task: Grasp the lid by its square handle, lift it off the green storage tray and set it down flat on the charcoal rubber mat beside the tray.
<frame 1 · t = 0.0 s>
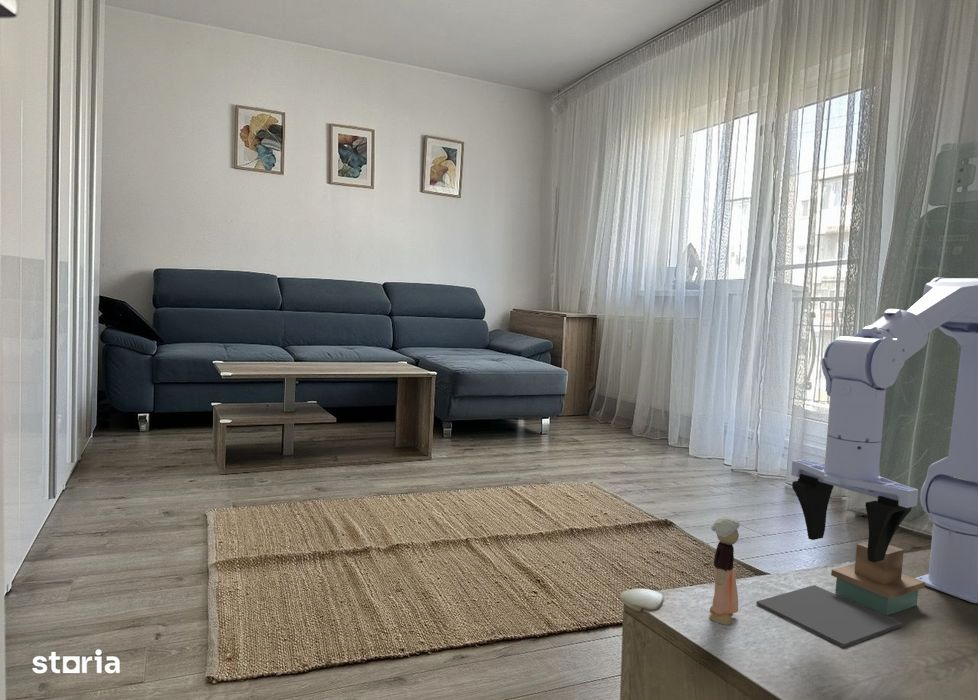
hand: (844, 548, 81), 10 cm above the table, fingers open, 7 cm apart
lid: (877, 581, 91), point 2 cm above the table, touching green storage tray
green storage tray: (875, 599, 91), on the table
mat: (827, 614, 86), on the table
grandmother figurine: (721, 615, 85), on the table
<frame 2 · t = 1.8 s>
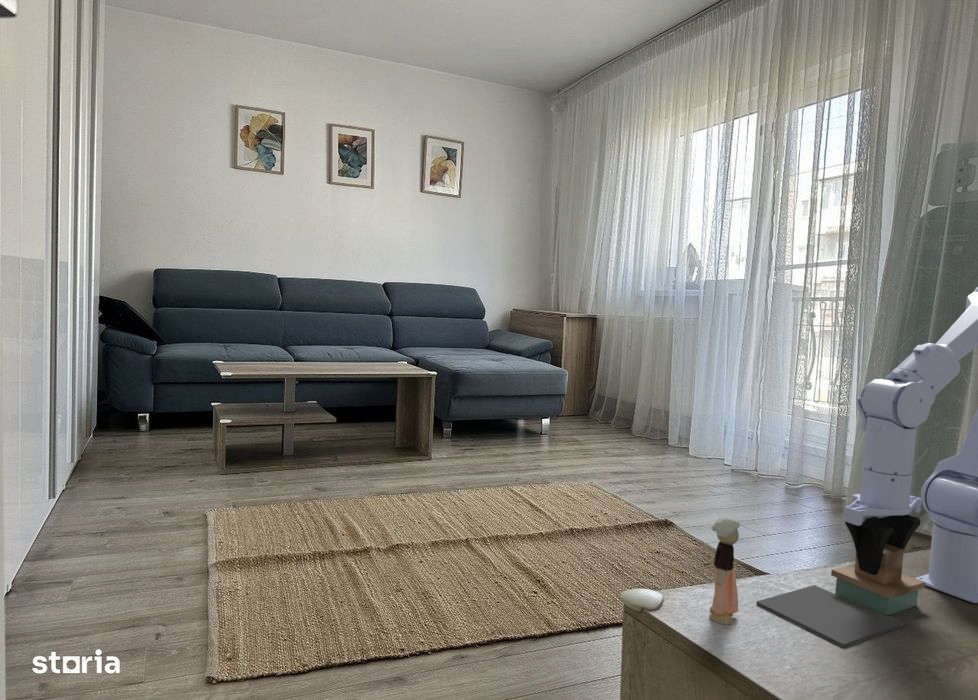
hand: (878, 569, 91), 4 cm above the table, fingers closed on lid, 4 cm apart
lid: (877, 581, 91), point 2 cm above the table, touching green storage tray, gripper
everything else where it was.
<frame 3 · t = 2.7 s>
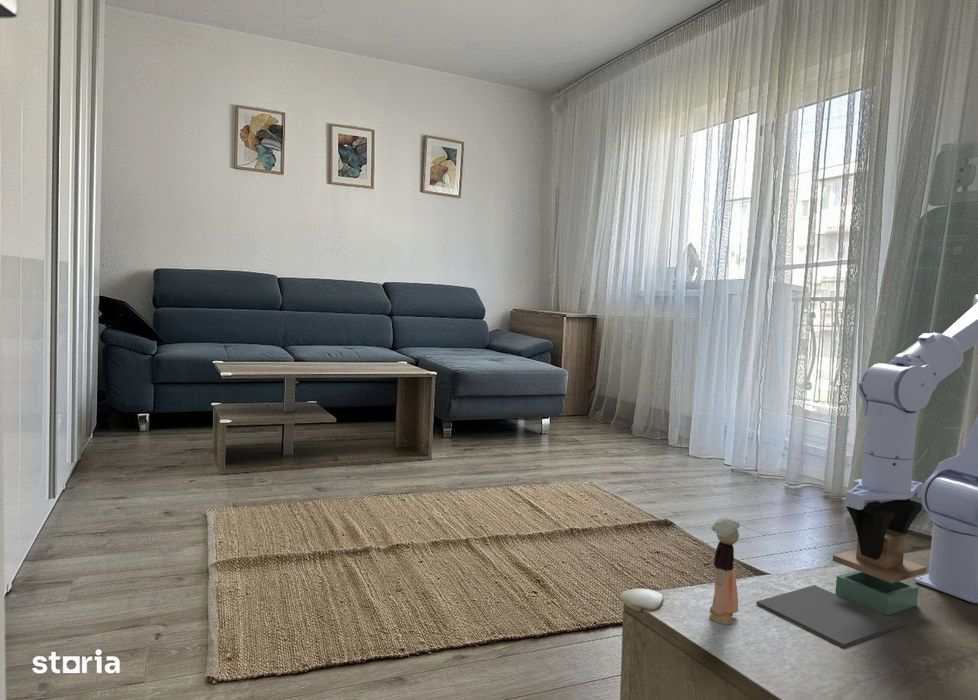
hand: (879, 554, 91), 6 cm above the table, fingers closed on lid, 4 cm apart
lid: (878, 566, 91), point 5 cm above the table, touching gripper
everything else where it was.
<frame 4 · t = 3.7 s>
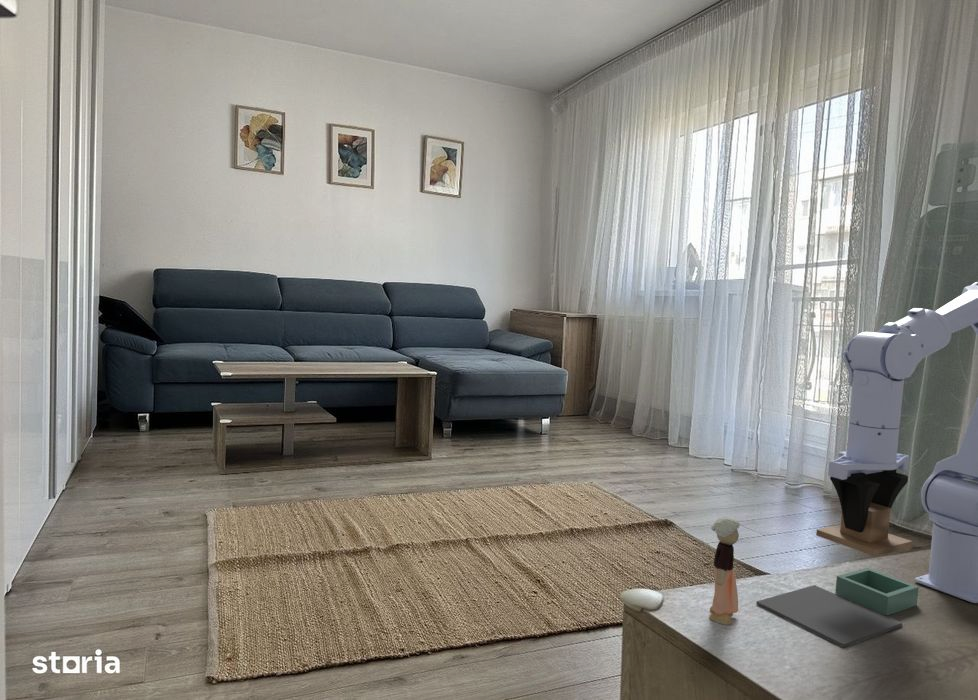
hand: (864, 527, 88), 11 cm above the table, fingers closed on lid, 4 cm apart
lid: (863, 541, 89), point 9 cm above the table, touching gripper
everything else where it was.
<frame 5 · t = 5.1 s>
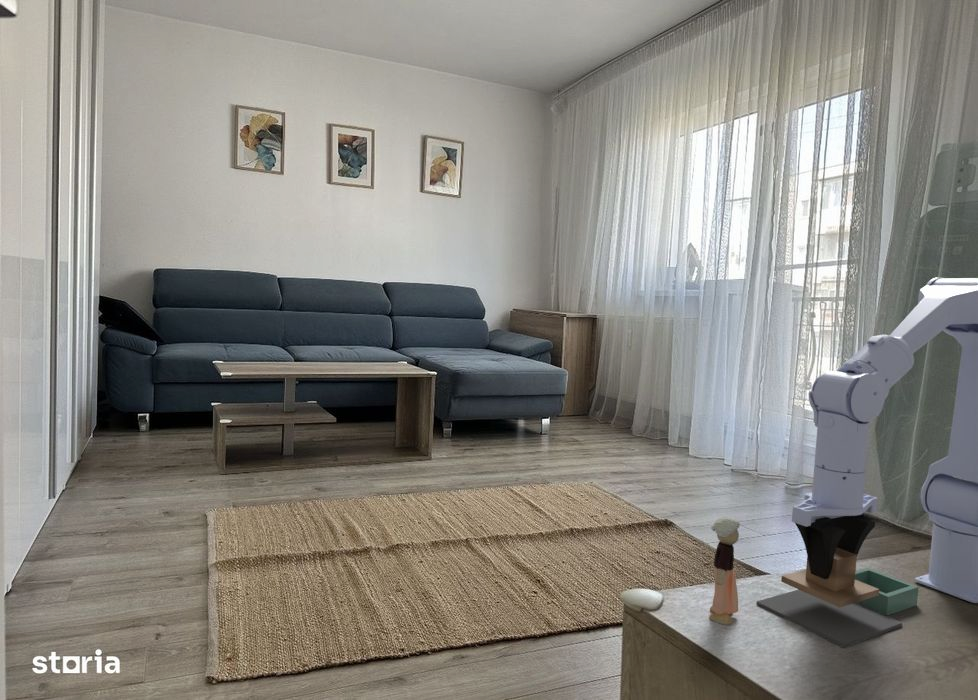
hand: (830, 572, 86), 6 cm above the table, fingers closed on lid, 4 cm apart
lid: (829, 588, 86), point 3 cm above the table, touching gripper
everything else where it was.
when the fingers open (4 cm above the table, at t = 5.9 s): lid drops 1 cm, resting on mat.
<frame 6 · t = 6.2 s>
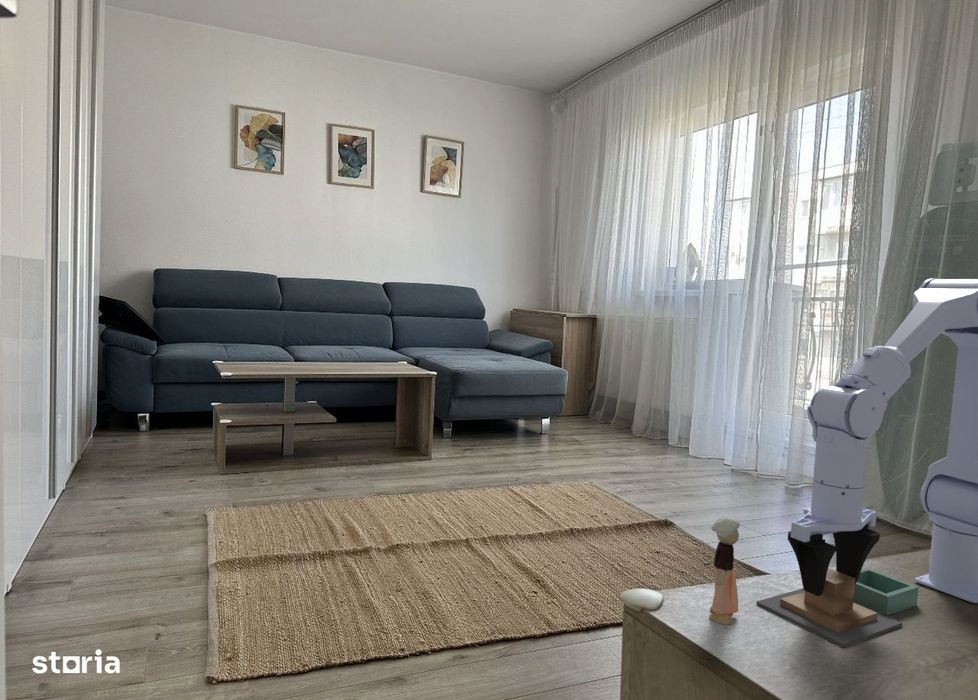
hand: (829, 587, 86), 4 cm above the table, fingers open, 6 cm apart
lid: (827, 611, 86), resting on mat
everything else where it was.
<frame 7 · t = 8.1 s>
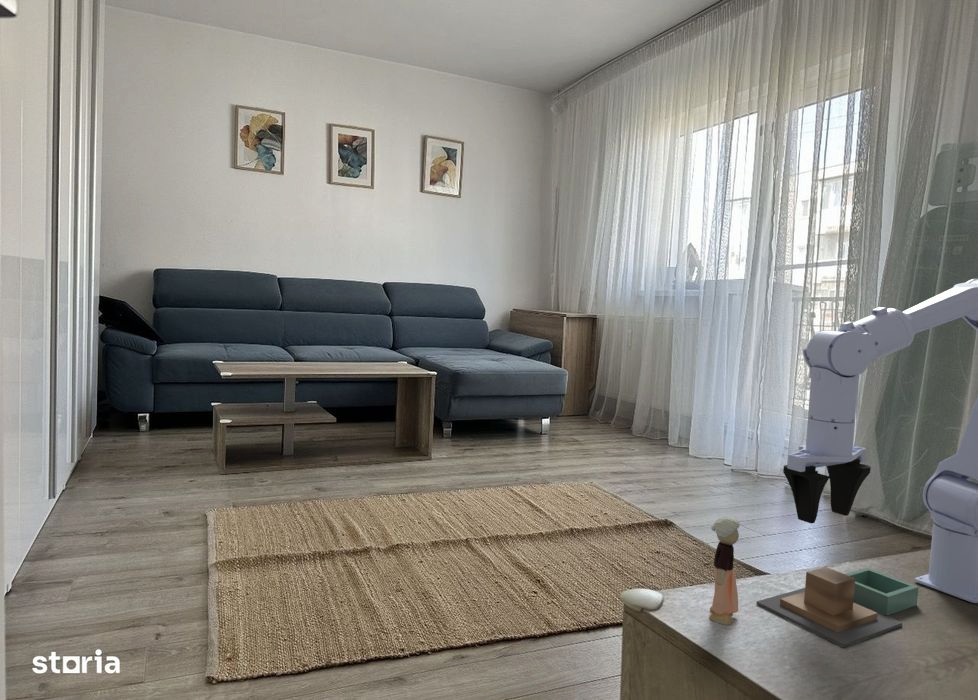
hand: (823, 517, 93), 10 cm above the table, fingers open, 7 cm apart
nothing on the table moved.
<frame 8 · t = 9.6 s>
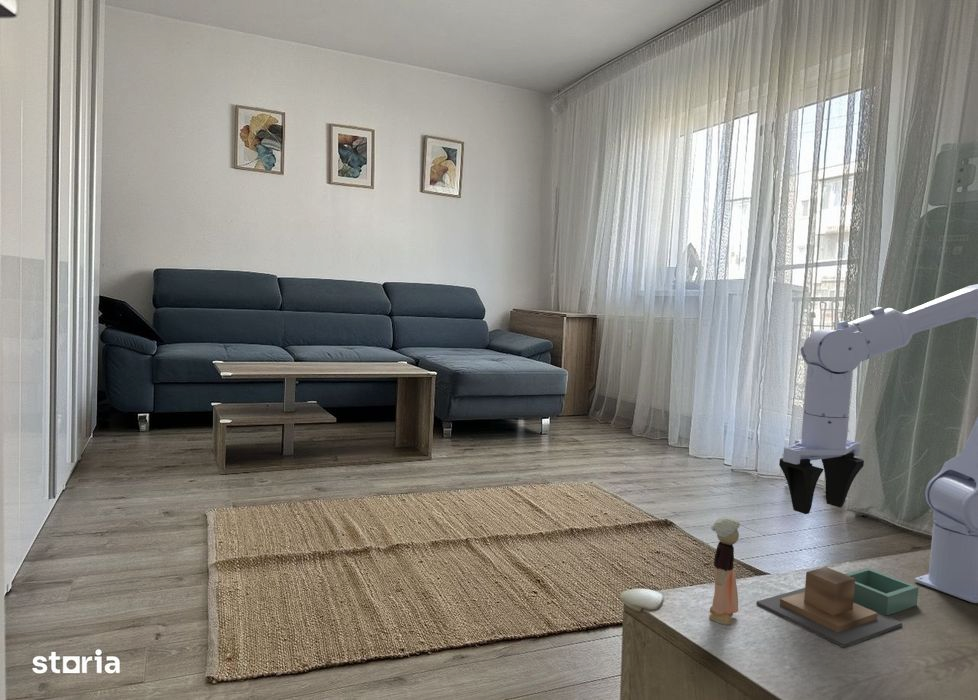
hand: (818, 508, 96), 10 cm above the table, fingers open, 7 cm apart
nothing on the table moved.
at the end: lid 0.0 cm off-centre on the mat, point 0.4 cm above the mat's base; lid tilted 0°; the gripper is holding nothing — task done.
